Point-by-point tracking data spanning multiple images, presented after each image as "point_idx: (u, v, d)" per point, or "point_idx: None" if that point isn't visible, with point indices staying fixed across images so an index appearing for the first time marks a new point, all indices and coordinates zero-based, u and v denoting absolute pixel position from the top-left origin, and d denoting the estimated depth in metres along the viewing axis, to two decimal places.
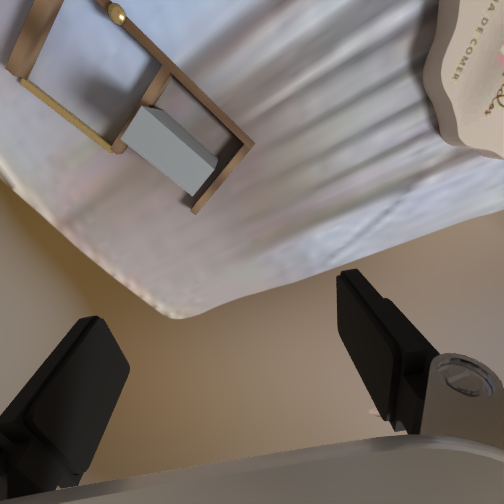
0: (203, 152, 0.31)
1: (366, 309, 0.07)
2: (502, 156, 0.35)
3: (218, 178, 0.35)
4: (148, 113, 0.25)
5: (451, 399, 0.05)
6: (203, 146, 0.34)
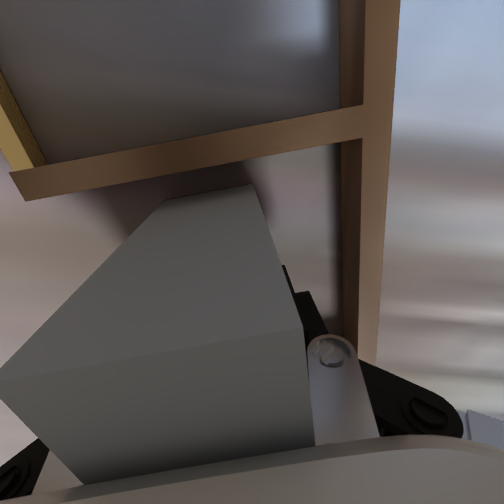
0: None
1: None
2: None
3: None
4: (299, 374, 0.03)
5: (326, 376, 0.06)
6: None
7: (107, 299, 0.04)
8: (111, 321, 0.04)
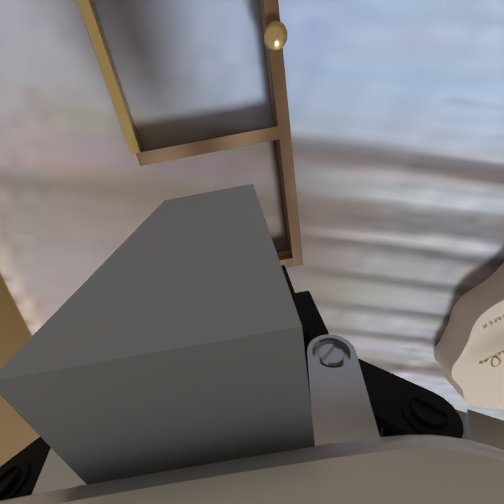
0: None
1: None
2: (464, 396, 0.37)
3: None
4: (298, 373, 0.03)
5: (327, 376, 0.06)
6: None
7: (108, 299, 0.04)
8: (112, 320, 0.04)
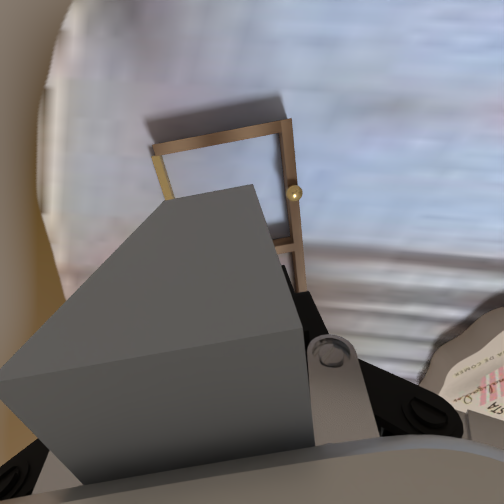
0: None
1: None
2: None
3: None
4: (299, 375, 0.03)
5: (326, 376, 0.06)
6: None
7: (107, 299, 0.04)
8: (111, 321, 0.04)
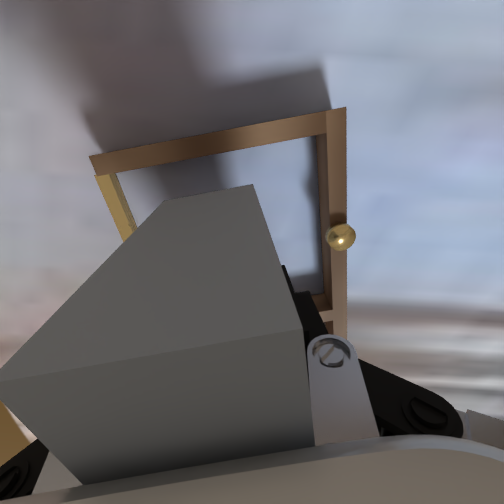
0: None
1: None
2: None
3: None
4: (298, 376, 0.03)
5: (326, 376, 0.06)
6: None
7: (107, 300, 0.04)
8: (110, 322, 0.04)
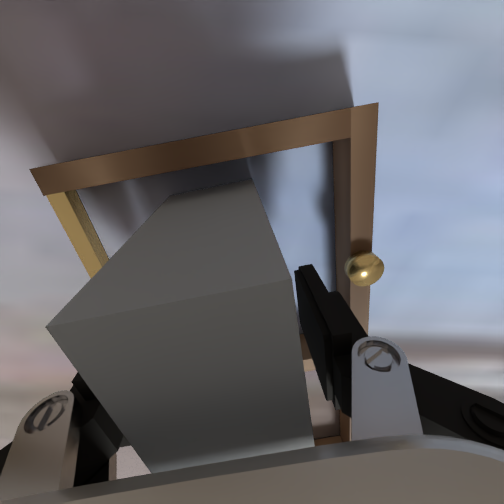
0: None
1: (311, 300, 0.08)
2: None
3: None
4: (290, 320, 0.04)
5: (371, 379, 0.06)
6: None
7: (131, 270, 0.05)
8: (138, 284, 0.05)
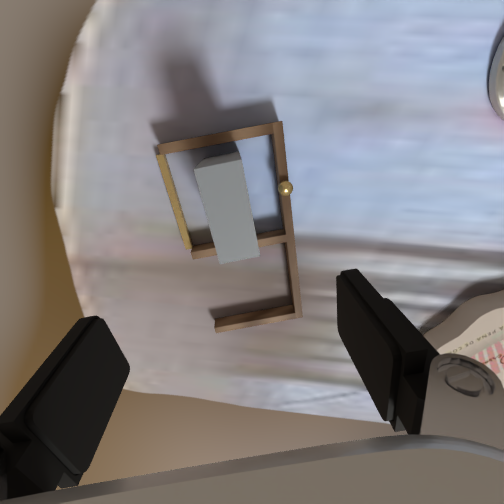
0: None
1: (366, 309, 0.07)
2: None
3: (257, 321, 0.37)
4: (242, 170, 0.21)
5: (451, 399, 0.05)
6: None
7: (205, 164, 0.22)
8: (209, 165, 0.21)
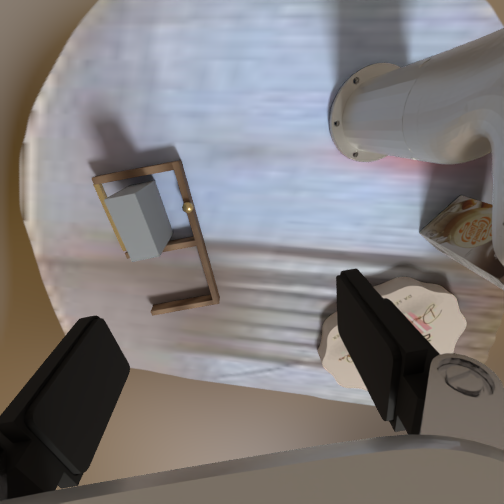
0: (162, 232, 0.38)
1: (366, 309, 0.07)
2: (336, 380, 0.58)
3: (183, 306, 0.48)
4: (136, 200, 0.32)
5: (451, 399, 0.05)
6: (167, 219, 0.42)
7: (115, 195, 0.33)
8: (116, 196, 0.32)
